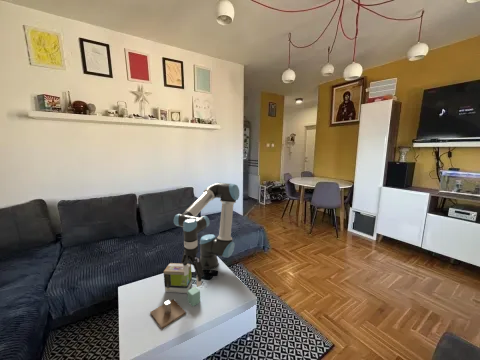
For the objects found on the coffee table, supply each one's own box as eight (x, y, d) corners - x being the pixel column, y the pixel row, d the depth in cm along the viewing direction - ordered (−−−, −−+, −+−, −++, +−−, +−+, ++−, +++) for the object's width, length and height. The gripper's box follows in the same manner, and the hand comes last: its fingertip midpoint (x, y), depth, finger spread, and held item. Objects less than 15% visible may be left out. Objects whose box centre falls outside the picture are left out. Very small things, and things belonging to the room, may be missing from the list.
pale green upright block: (195, 297, 129) (194, 286, 127) (200, 301, 125) (199, 290, 124) (188, 302, 125) (187, 290, 124) (192, 306, 121) (192, 295, 120)
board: (173, 300, 126) (173, 298, 126) (185, 313, 117) (185, 311, 116) (150, 313, 117) (150, 312, 116) (161, 329, 107) (161, 327, 107)
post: (169, 309, 118) (168, 300, 117) (171, 311, 116) (170, 302, 115) (164, 311, 116) (164, 302, 115) (166, 314, 115) (166, 305, 114)
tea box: (192, 283, 142) (191, 263, 139) (187, 293, 132) (186, 272, 129) (171, 281, 143) (169, 262, 140) (164, 292, 133) (162, 271, 131)
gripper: (174, 241, 125) (176, 273, 128) (197, 257, 107) (199, 293, 111) (185, 237, 130) (187, 268, 134) (209, 251, 112) (210, 287, 116)
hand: (192, 280), depth 122 cm, fingers open, 13 cm apart
